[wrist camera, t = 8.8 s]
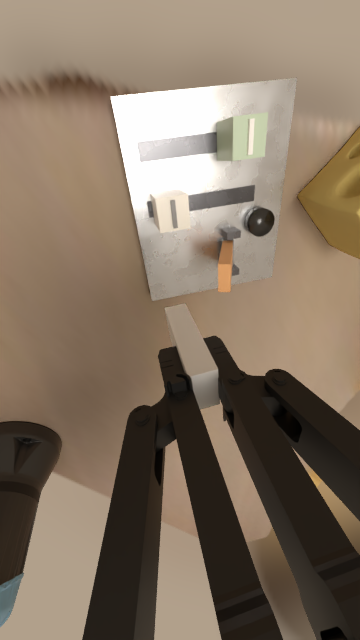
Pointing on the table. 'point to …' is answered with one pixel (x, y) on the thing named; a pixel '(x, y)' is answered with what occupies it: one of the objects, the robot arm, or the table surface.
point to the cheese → (337, 198)
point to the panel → (205, 181)
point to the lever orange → (225, 265)
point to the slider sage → (242, 137)
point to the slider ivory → (171, 210)
